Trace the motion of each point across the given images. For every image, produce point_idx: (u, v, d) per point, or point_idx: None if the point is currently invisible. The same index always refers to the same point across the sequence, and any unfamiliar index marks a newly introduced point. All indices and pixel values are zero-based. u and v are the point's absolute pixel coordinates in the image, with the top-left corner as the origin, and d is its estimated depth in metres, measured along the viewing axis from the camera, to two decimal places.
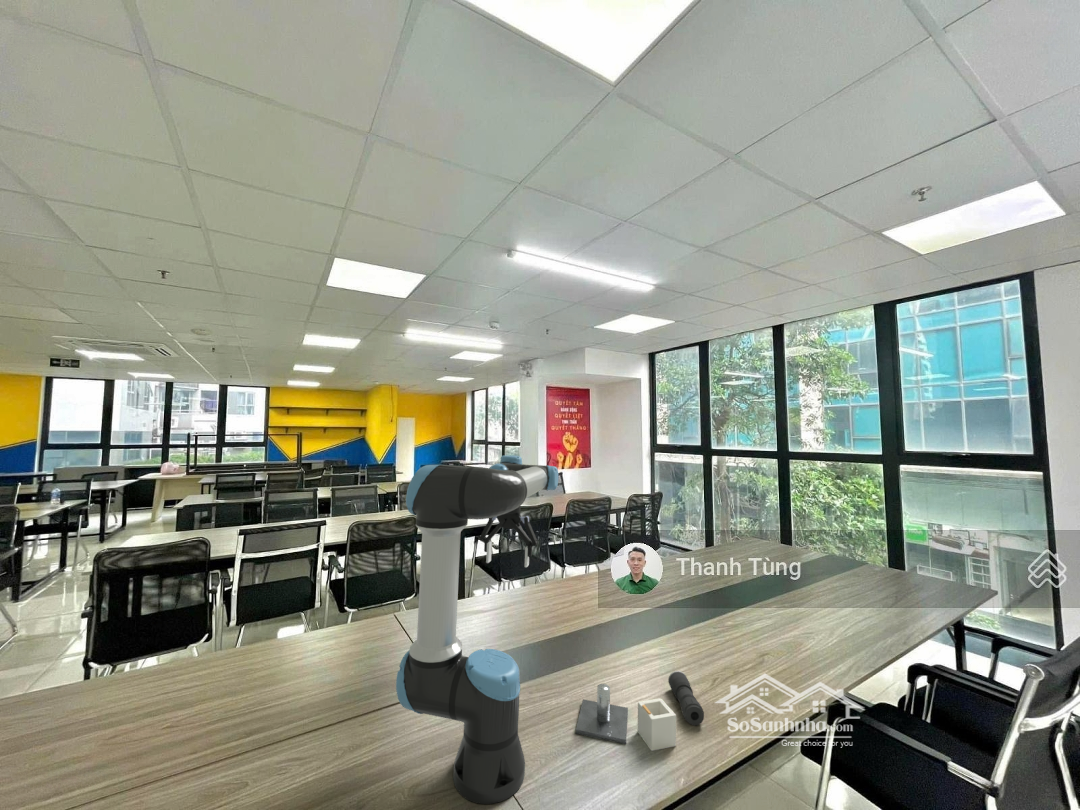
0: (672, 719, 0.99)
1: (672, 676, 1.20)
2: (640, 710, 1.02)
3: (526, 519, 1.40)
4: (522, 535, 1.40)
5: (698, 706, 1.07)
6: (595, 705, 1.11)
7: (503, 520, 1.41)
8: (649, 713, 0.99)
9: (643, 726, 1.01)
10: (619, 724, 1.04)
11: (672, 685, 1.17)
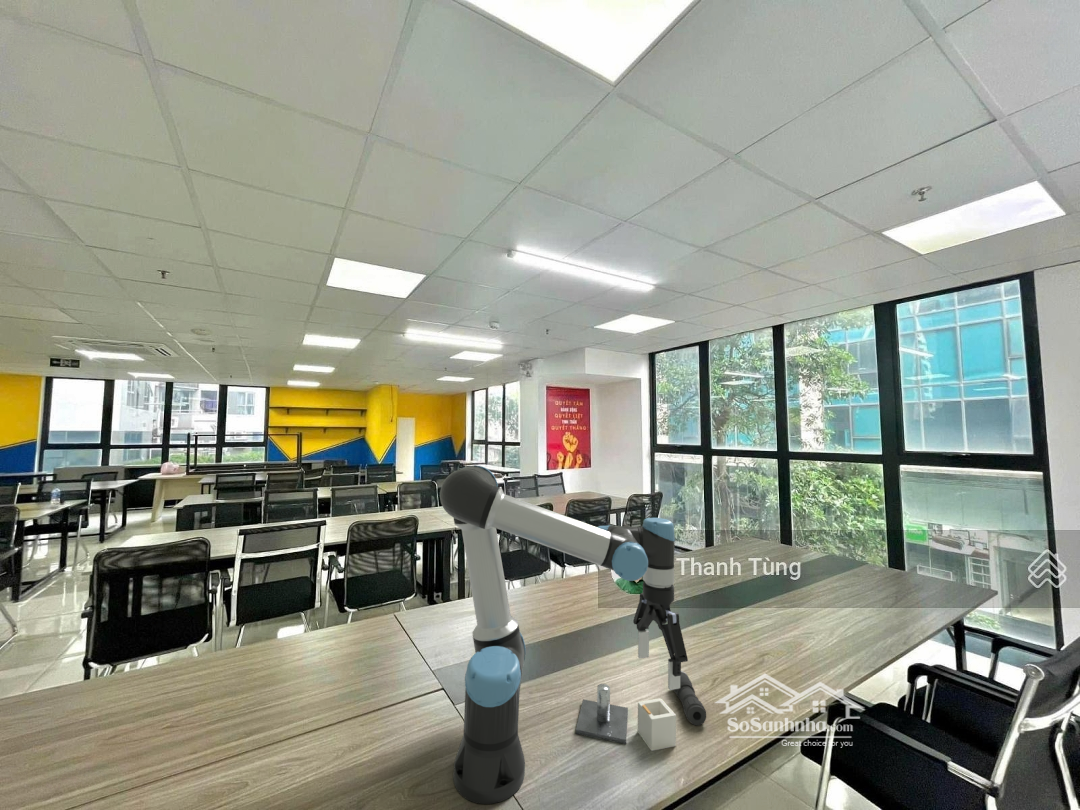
0: (672, 719, 0.99)
1: None
2: (640, 710, 1.02)
3: (669, 617, 0.96)
4: (666, 639, 0.97)
5: (700, 706, 1.07)
6: (595, 705, 1.11)
7: (648, 607, 1.04)
8: (649, 713, 0.99)
9: (643, 726, 1.01)
10: (619, 724, 1.04)
11: None
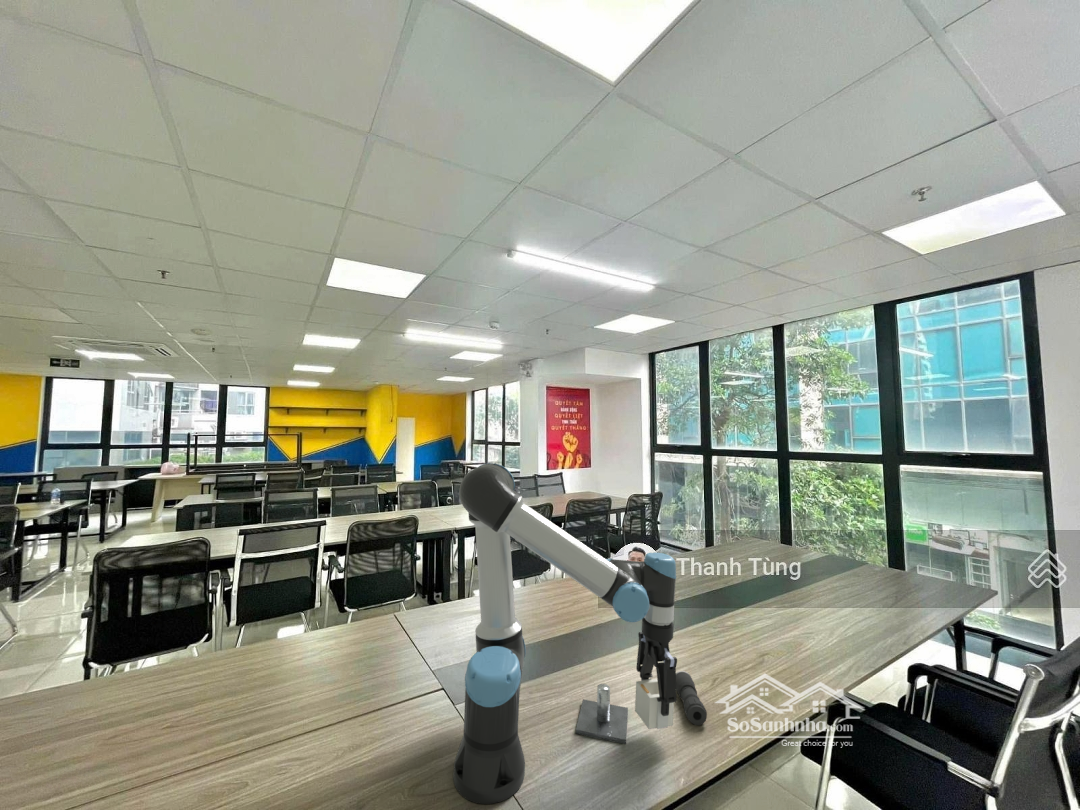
0: None
1: (677, 676, 1.20)
2: (638, 690, 1.03)
3: (667, 662, 0.96)
4: (658, 678, 0.98)
5: (701, 706, 1.07)
6: (595, 705, 1.11)
7: (646, 643, 1.03)
8: (647, 692, 0.99)
9: (641, 705, 1.01)
10: (619, 724, 1.04)
11: (676, 685, 1.18)
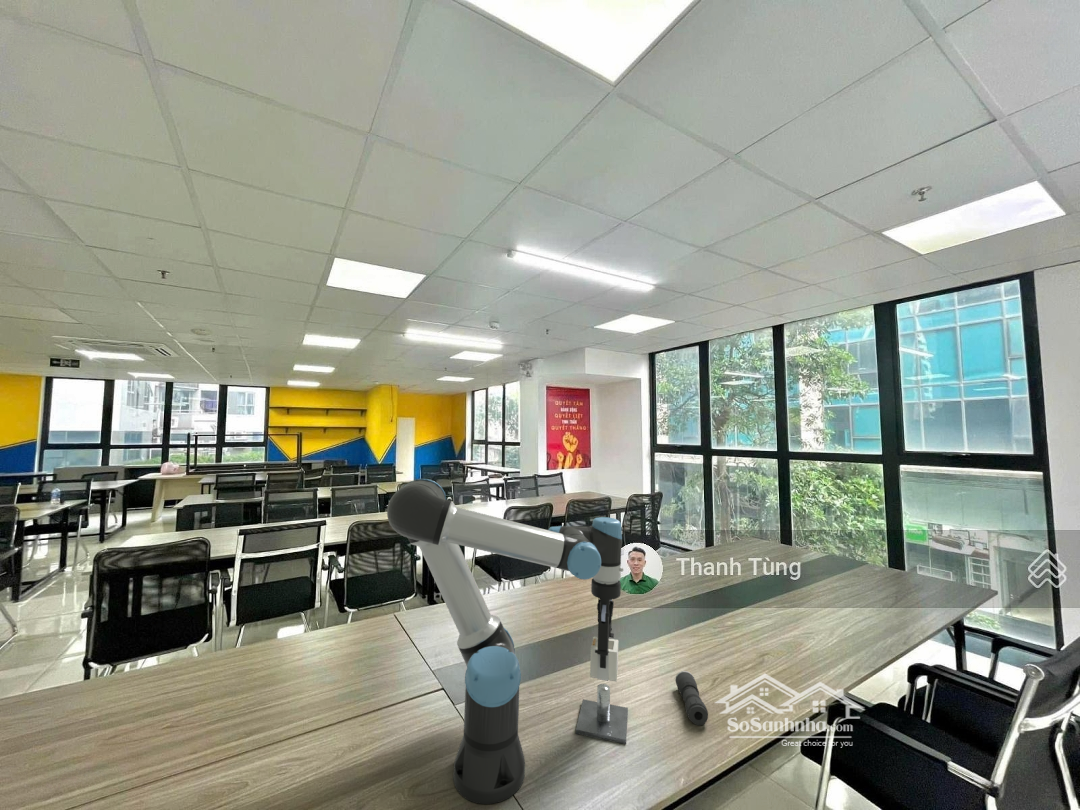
0: (612, 655, 1.03)
1: (679, 676, 1.20)
2: None
3: (598, 615, 1.02)
4: None
5: (702, 706, 1.07)
6: (595, 705, 1.11)
7: None
8: (593, 644, 1.06)
9: None
10: (619, 724, 1.04)
11: (679, 685, 1.18)
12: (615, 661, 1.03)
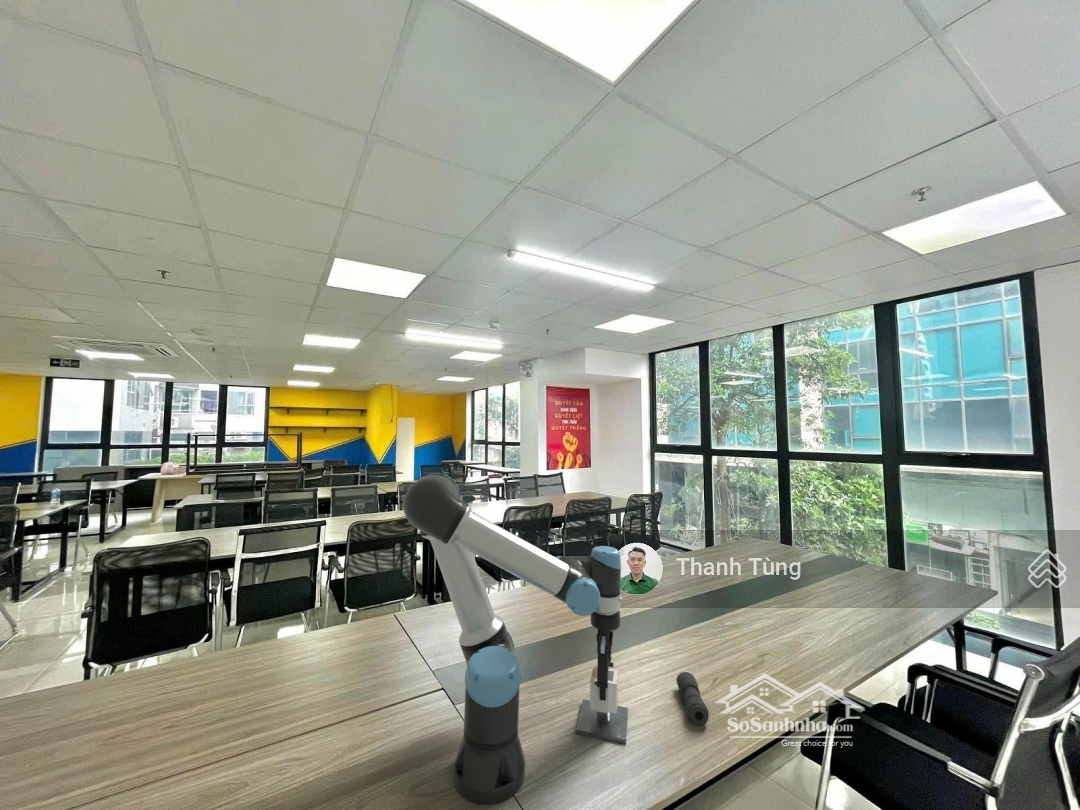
0: (612, 687, 1.03)
1: (680, 676, 1.20)
2: None
3: (597, 648, 1.01)
4: None
5: (703, 706, 1.07)
6: None
7: None
8: (592, 675, 1.06)
9: None
10: (619, 724, 1.04)
11: (679, 685, 1.18)
12: (615, 693, 1.03)
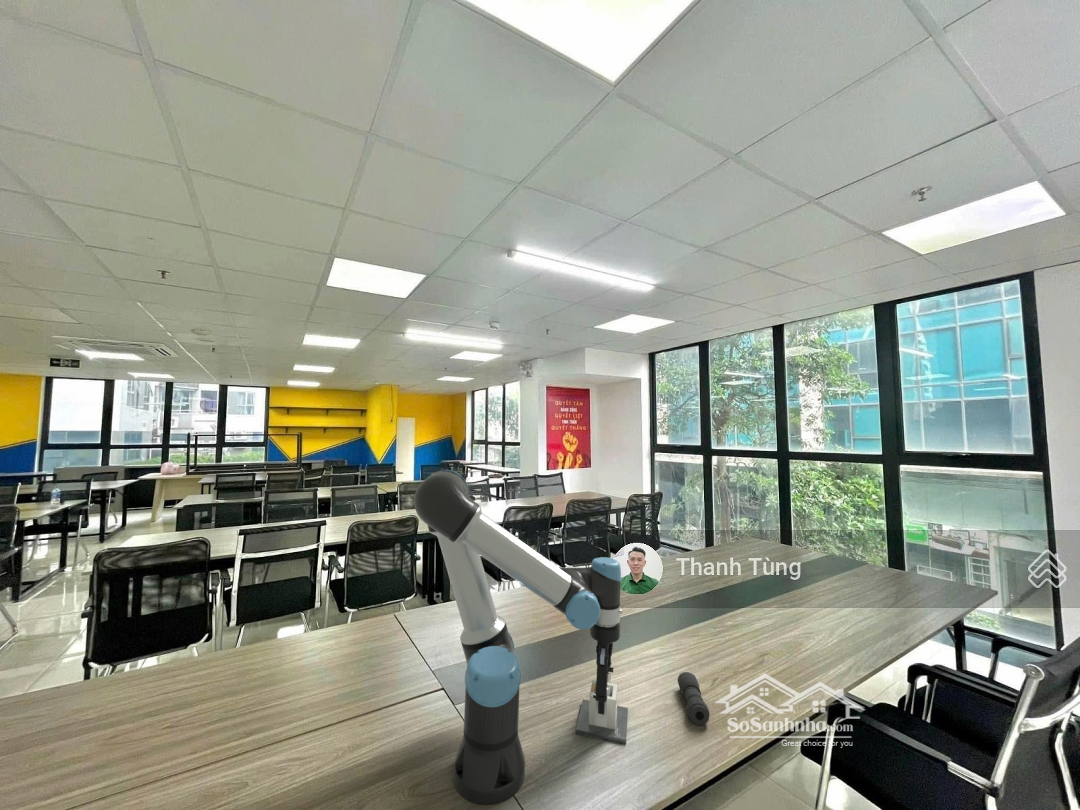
0: (611, 703, 1.03)
1: (681, 676, 1.20)
2: None
3: (597, 658, 1.01)
4: None
5: (703, 706, 1.07)
6: None
7: None
8: (592, 690, 1.06)
9: None
10: (619, 724, 1.04)
11: (681, 685, 1.18)
12: (614, 709, 1.02)
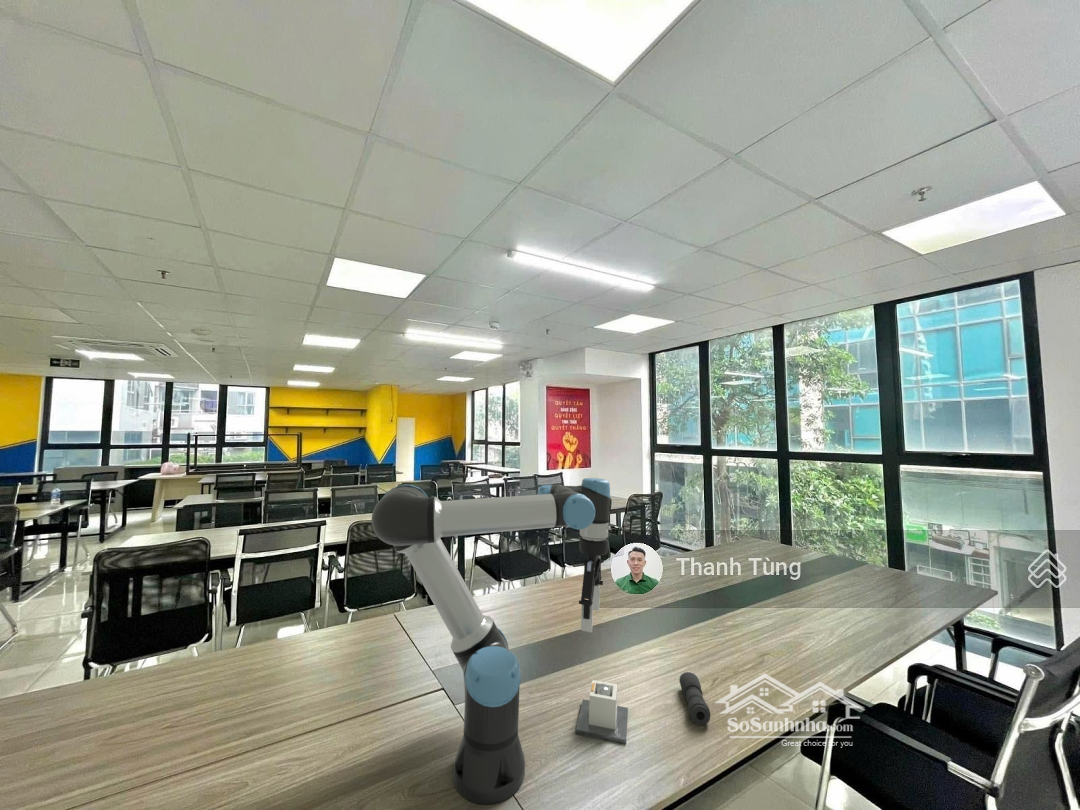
0: (611, 703, 1.03)
1: (683, 676, 1.20)
2: None
3: None
4: None
5: (704, 706, 1.07)
6: None
7: (586, 559, 1.12)
8: (592, 690, 1.06)
9: None
10: (619, 724, 1.04)
11: (682, 685, 1.18)
12: (614, 709, 1.02)
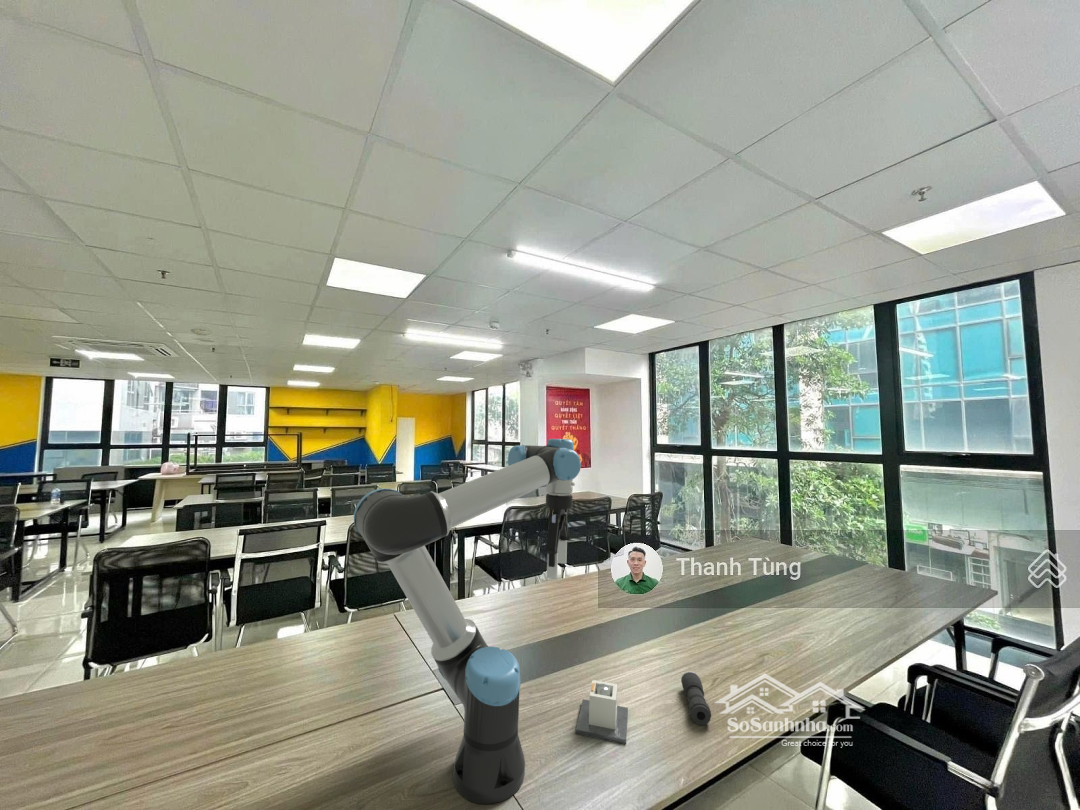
0: (611, 703, 1.03)
1: (684, 676, 1.20)
2: None
3: None
4: None
5: (705, 706, 1.07)
6: None
7: None
8: (592, 690, 1.06)
9: None
10: (619, 724, 1.04)
11: (684, 685, 1.18)
12: (614, 709, 1.02)
